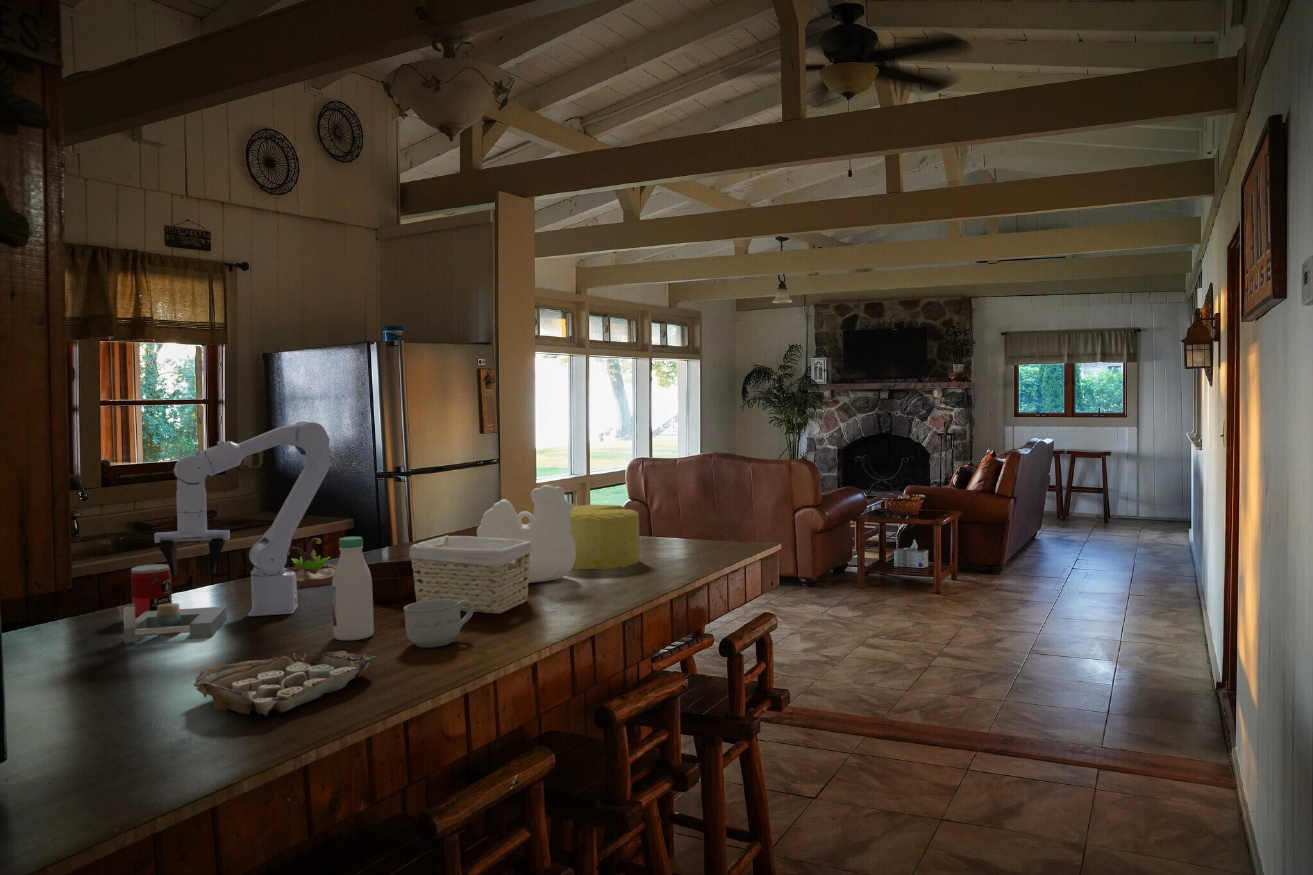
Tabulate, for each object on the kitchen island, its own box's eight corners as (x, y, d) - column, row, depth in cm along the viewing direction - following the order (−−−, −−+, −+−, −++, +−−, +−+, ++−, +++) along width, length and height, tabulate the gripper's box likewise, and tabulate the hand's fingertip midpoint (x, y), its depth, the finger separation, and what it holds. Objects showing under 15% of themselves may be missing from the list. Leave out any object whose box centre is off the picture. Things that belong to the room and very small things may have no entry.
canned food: (155, 620, 204) (153, 570, 204) (124, 619, 206) (122, 570, 205) (180, 612, 212) (178, 564, 211) (149, 611, 213) (147, 563, 213)
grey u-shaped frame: (226, 619, 204) (225, 588, 204) (211, 637, 189) (209, 603, 189) (146, 625, 200) (144, 592, 200) (123, 644, 185) (121, 609, 185)
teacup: (411, 654, 175) (410, 612, 175) (399, 641, 185) (397, 601, 184) (484, 644, 181) (483, 603, 181) (468, 632, 191) (467, 593, 191)
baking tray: (299, 663, 172) (298, 634, 172) (399, 672, 165) (398, 642, 165) (163, 716, 144) (161, 681, 144) (275, 730, 137) (273, 693, 137)
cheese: (654, 556, 275) (654, 505, 274) (614, 572, 251) (613, 517, 250) (576, 551, 285) (575, 502, 285) (531, 566, 262) (529, 513, 261)
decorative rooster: (584, 575, 247) (582, 481, 246) (563, 588, 232) (561, 488, 231) (496, 572, 254) (494, 480, 252) (470, 584, 238) (468, 487, 237)
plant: (363, 580, 247) (361, 538, 247) (289, 592, 234) (287, 547, 233) (330, 570, 262) (329, 530, 261) (259, 580, 249) (257, 538, 248)
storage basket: (536, 601, 219) (534, 538, 218) (501, 617, 203) (499, 549, 203) (448, 594, 227) (446, 534, 226) (407, 609, 212) (406, 545, 211)
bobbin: (183, 630, 195) (182, 602, 195) (178, 636, 191) (177, 607, 191) (160, 632, 194) (159, 603, 194) (155, 638, 190) (153, 608, 189)
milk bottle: (381, 633, 191) (378, 535, 190) (357, 642, 184) (354, 541, 183) (349, 630, 194) (346, 534, 193) (325, 640, 186) (321, 540, 185)
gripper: (149, 515, 196) (151, 579, 197) (224, 512, 199) (226, 575, 200) (158, 511, 203) (160, 573, 203) (231, 508, 206) (232, 570, 207)
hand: (193, 574), depth 202 cm, fingers open, 7 cm apart
